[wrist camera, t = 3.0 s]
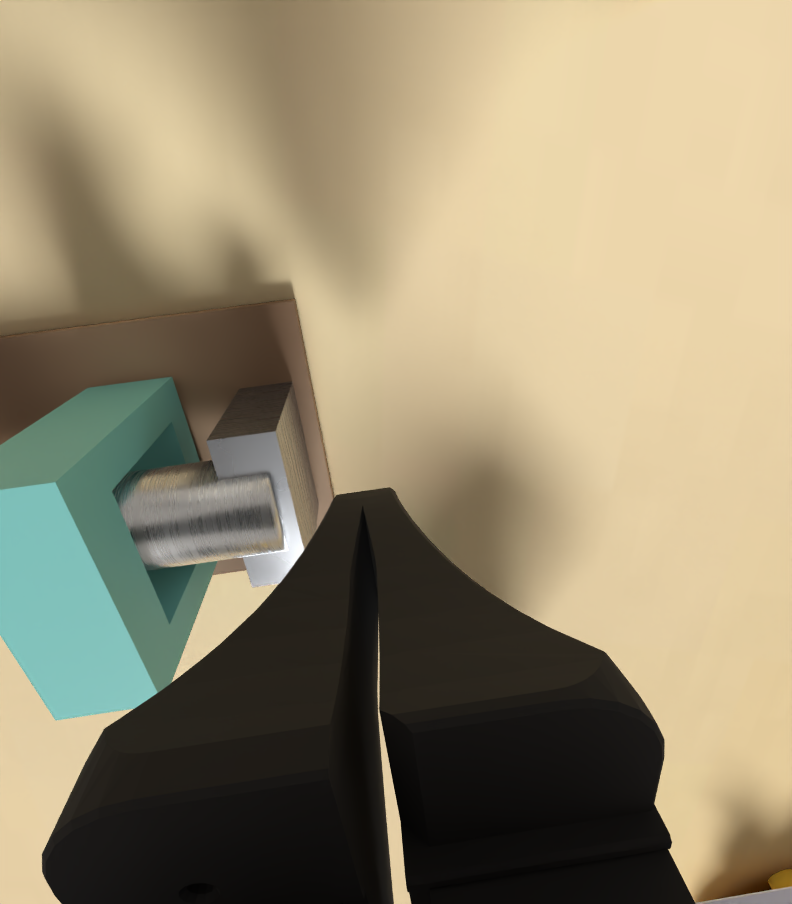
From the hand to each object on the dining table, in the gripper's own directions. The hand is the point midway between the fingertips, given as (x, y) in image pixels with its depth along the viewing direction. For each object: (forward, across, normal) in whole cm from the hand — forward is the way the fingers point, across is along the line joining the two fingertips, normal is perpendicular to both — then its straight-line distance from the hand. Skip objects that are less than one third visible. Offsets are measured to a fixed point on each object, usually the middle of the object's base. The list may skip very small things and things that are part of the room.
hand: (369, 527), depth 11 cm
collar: (+5, +6, 0) cm, 8 cm away
